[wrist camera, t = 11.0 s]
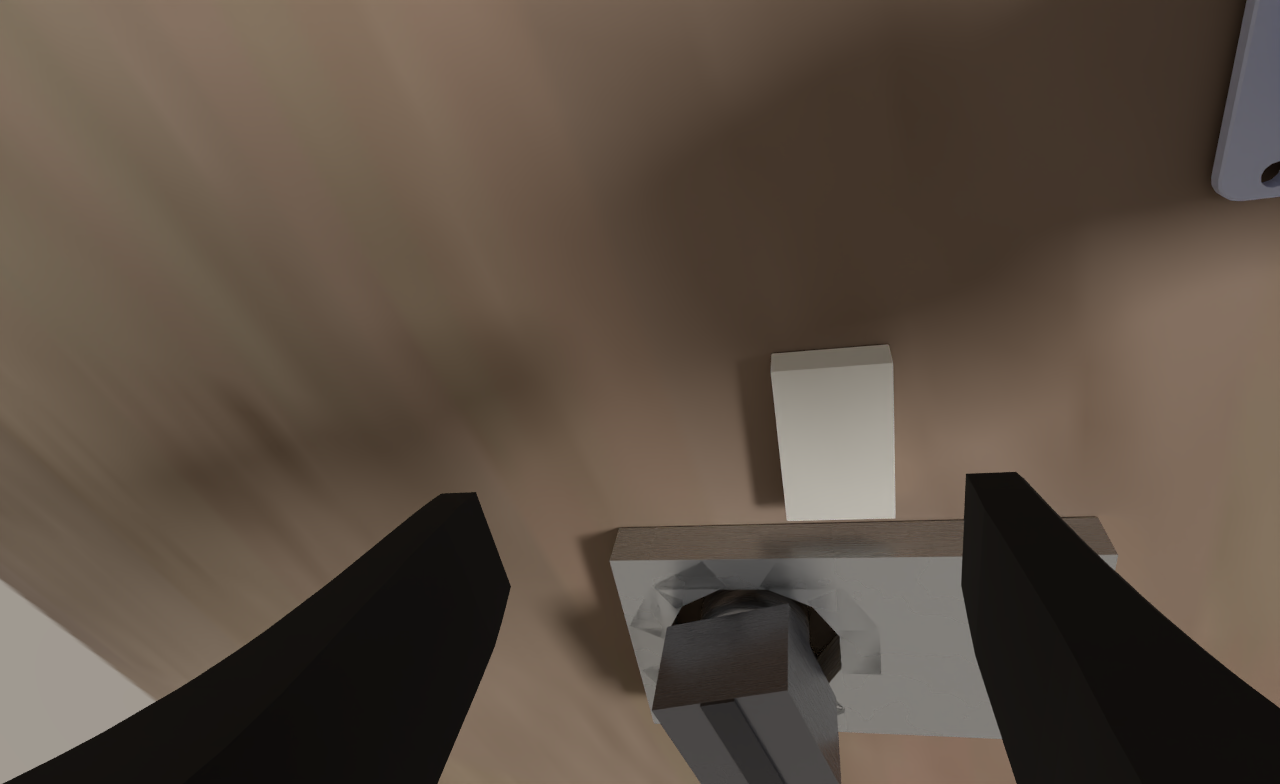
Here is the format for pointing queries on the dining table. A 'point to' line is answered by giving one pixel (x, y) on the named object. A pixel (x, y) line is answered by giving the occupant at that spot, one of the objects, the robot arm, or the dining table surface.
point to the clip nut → (748, 693)
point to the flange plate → (836, 609)
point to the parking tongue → (836, 432)
